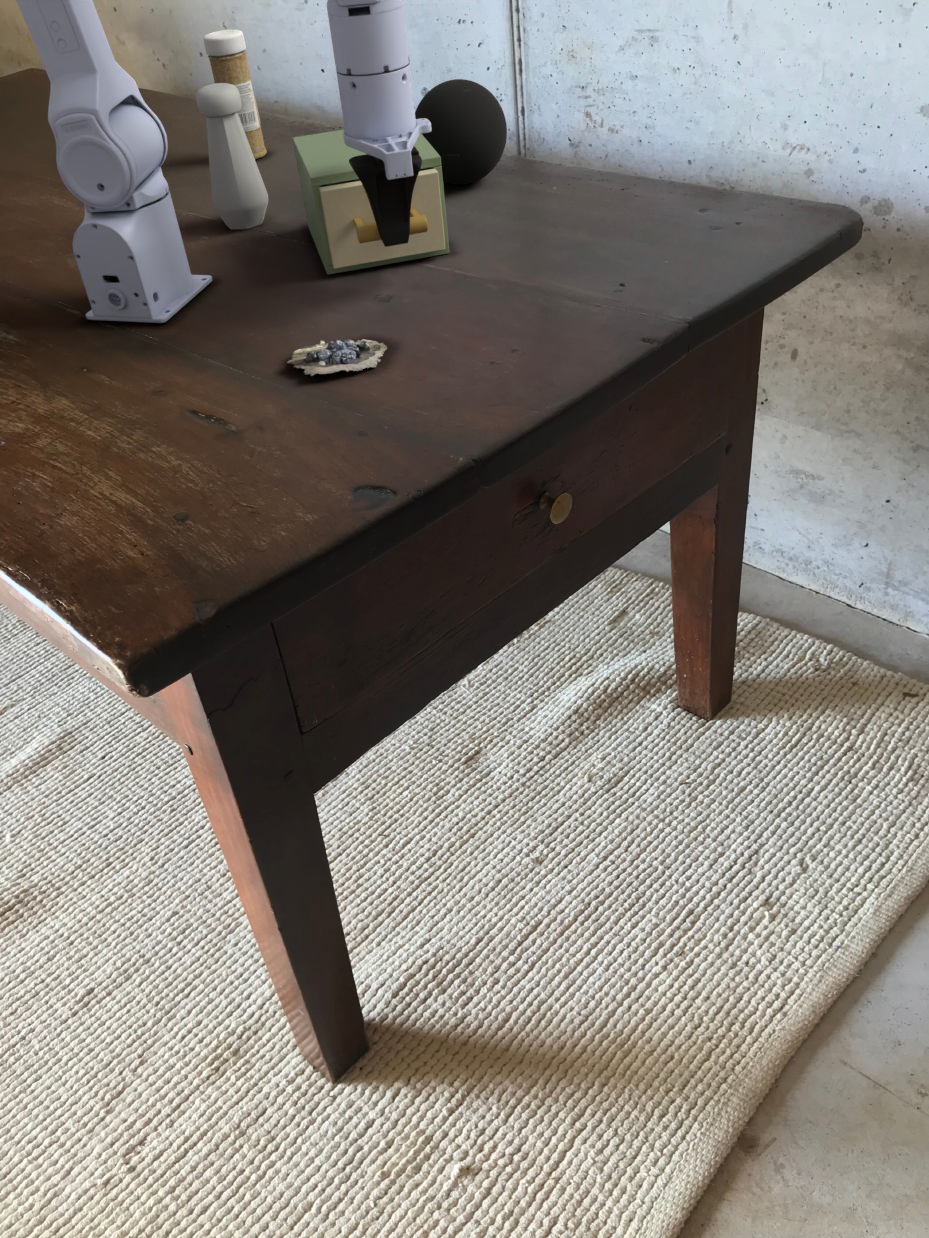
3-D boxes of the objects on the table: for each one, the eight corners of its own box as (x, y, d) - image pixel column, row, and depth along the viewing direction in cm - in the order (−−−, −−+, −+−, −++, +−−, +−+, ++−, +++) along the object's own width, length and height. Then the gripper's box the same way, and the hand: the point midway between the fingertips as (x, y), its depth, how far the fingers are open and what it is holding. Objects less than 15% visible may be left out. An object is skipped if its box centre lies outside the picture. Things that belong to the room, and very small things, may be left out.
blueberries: (274, 363, 81) (269, 341, 79) (359, 330, 84) (356, 308, 83) (319, 392, 76) (314, 368, 75) (406, 356, 80) (403, 333, 78)
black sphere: (399, 185, 112) (387, 84, 105) (471, 161, 116) (464, 64, 110) (454, 204, 106) (445, 99, 99) (528, 179, 110) (524, 76, 103)
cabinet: (449, 253, 95) (440, 156, 90) (327, 275, 94) (310, 177, 88) (419, 208, 106) (409, 119, 100) (308, 227, 104) (292, 137, 98)
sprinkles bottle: (265, 149, 127) (241, 26, 118) (268, 159, 124) (243, 33, 115) (229, 154, 127) (202, 32, 118) (230, 165, 123) (202, 39, 115)
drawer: (456, 265, 91) (449, 186, 86) (340, 286, 89) (327, 206, 85) (417, 207, 103) (409, 135, 99) (315, 224, 102) (302, 152, 97)
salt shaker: (261, 232, 104) (231, 93, 96) (209, 233, 105) (175, 95, 97) (280, 212, 108) (253, 77, 100) (230, 213, 109) (199, 79, 101)
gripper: (444, 78, 74) (460, 264, 83) (405, 42, 85) (423, 209, 94) (348, 93, 73) (375, 279, 82) (321, 55, 84) (347, 222, 93)
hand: (395, 243), depth 88 cm, fingers closed, pressing on drawer
